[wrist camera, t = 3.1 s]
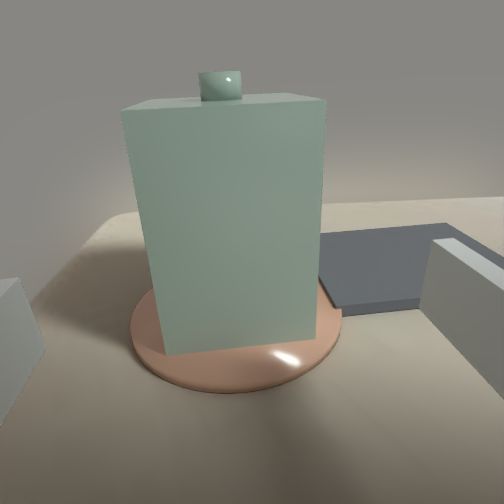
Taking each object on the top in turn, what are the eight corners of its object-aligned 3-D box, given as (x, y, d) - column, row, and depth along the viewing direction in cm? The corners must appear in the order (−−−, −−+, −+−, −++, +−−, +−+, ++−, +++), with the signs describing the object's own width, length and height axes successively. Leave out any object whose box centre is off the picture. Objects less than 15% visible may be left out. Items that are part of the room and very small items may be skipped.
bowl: (310, 258, 29) (311, 208, 27) (378, 376, 18) (389, 303, 16) (148, 272, 28) (138, 221, 26) (108, 409, 17) (85, 335, 15)
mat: (444, 230, 33) (446, 222, 33) (545, 295, 23) (548, 284, 23) (295, 243, 32) (295, 235, 32) (335, 317, 22) (336, 306, 22)
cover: (286, 269, 27) (286, 70, 21) (315, 339, 19) (328, 65, 14) (177, 279, 26) (146, 76, 20) (166, 355, 19) (112, 75, 13)
